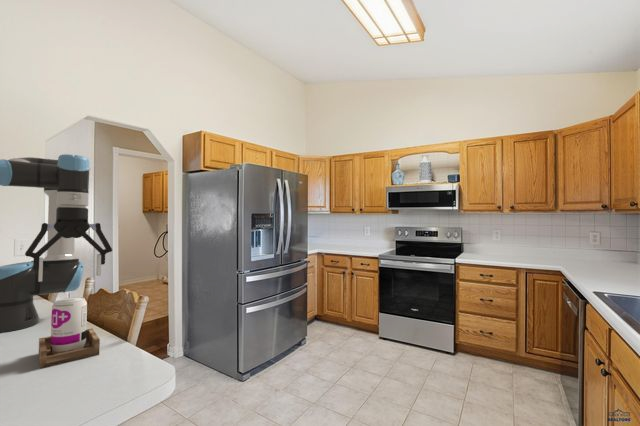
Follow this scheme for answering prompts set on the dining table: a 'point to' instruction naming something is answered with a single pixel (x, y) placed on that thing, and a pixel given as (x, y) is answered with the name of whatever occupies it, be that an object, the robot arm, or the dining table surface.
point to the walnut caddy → (89, 350)
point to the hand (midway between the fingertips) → (70, 278)
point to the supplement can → (68, 325)
